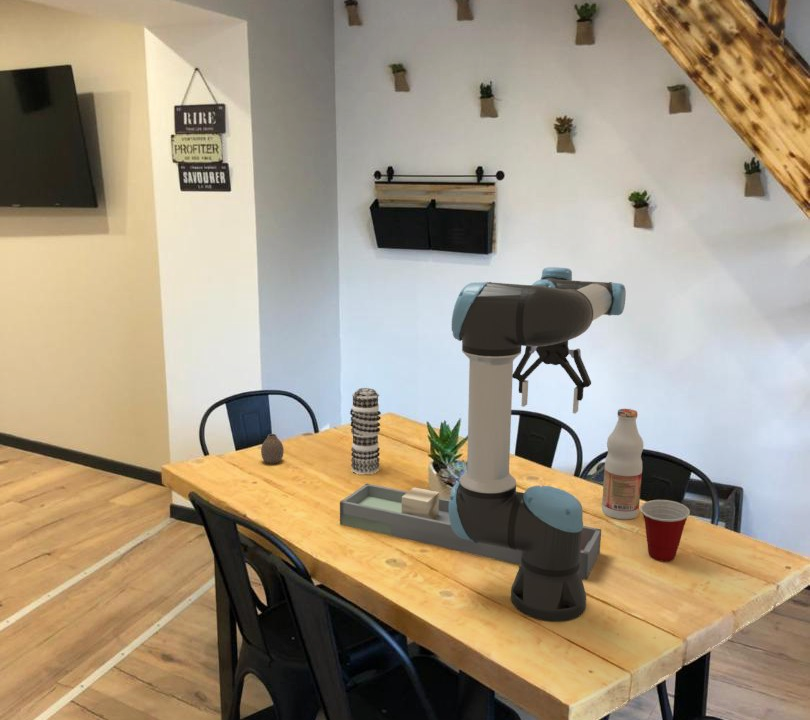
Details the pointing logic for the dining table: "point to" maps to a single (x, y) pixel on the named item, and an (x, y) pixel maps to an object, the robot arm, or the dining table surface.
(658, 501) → the plastic cup
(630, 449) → the fruit juice
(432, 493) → the beech block
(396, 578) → the dining table surface
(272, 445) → the vase
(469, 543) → the tray
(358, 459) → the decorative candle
